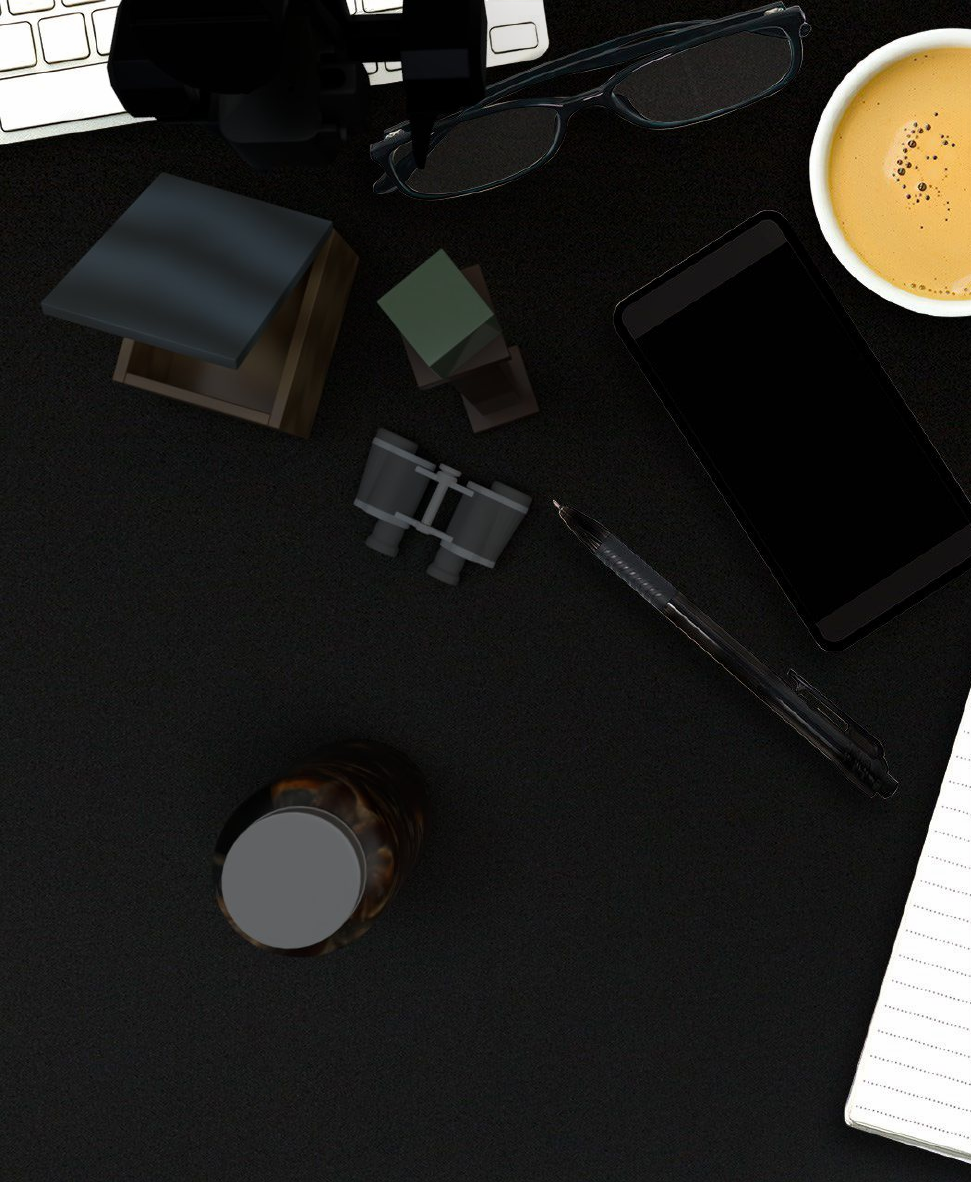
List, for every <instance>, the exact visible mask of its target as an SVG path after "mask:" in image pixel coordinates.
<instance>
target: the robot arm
mask: <svg viewBox="0 0 971 1182" xmlns="http://www.w3.org/2000/svg"><path fill="white" fill-rule="evenodd" d="M401 6H402V8H401V12H386V13H385V12H384V13H358V14H356V13H355V14H351V12H350V8H349V4H348V2H347V0H120V2H119V4H118V6H117V8H116V14H115V19H114V24H113V30H112V35H111V41H110V47H109V51H108V52H109V53H108V58H107V62H106V71H107V76H108V81H109V86H110V87H111V90H112V92H113V93H114V94H115V96H116V98H117V99H118V101H119V103H120V104H121V107H123V110H124V111H125V112H126V113H128V115H130V116H131V117H132V118H133V119H145V118H154V119H155V120H156V121H157V122H159V123H160V124H164V125H174V124H198V125H199V126H201V127H202V128H203V129H205V130H206V131H207V132H209V133H211V134H212V135H213V136H214V137H216V138H217V139H219V140H220V141H221V142H222V143H223V144H225V145H226V146H227V147H228V148H229V149H230V150H231V151H232V152H234V153H235V154H236V155H238V157H240V158H241V159H242V160H243V161H245V163H247V165H249V166H250V167H251V168H253V169H254V170H255V171H256V172H257V173H258V174H260V175H262V176H263V175H264V176H265V175H268V174H269V171H270V170H271V169H275V168H296V167H301V168H302V167H307V168H310V169H311V168H312V169H314V168H315V169H318V168H325V167H327V166H329V165H331V164H332V163H333V162H334V161H335V160H336V158H337V157H338V154H339V152H340V151H339V150H343V149H345V150H348V149H352V147H353V146H352V145H353V138H355V136H357V135H369V134H370V133H371V131H372V129H373V116H372V113H373V112H372V111H373V110H372V109H373V107H372V85H371V79H370V75H369V72H368V70H367V69H366V67H365V64H376V63H378V64H379V63H381V64H382V63H400V68H401V69H400V70H401V79H402V84H403V89H404V92H405V96H406V97H405V116H408V121H409V130H410V141H411V149H412V150H411V151H412V156H413V160H414V162H415V165H416V168H417V170H425V169H426V164H427V158H428V152H429V148H430V143H431V138H432V134H433V133H432V132H433V129H434V126H435V124H436V122H437V118H438V117H439V115H454V114H457V113H458V112H460V110H461V109H462V108H463V107H464V108H465V107H475V106H477V105H478V104H480V103H482V101H483V100H485V98H486V97H487V66H488V65H487V62H488V15H487V7H486V2H485V0H402V5H401Z"/></svg>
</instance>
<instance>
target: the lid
mask: <svg viewBox="0 0 971 1182" xmlns="http://www.w3.org/2000/svg"><path fill="white" fill-rule="evenodd" d="M333 229H334V225H333V221H331V220H328V219H324V218H322V217H318V216H314V215H311V214H307V213H304V212H301V211H297V210H294V209H290V208H287V207H284V206H280V205H277V204H273V203H270V202H266V201H263V200H259V199H256V198H253V197H251V196H246V195H243V194H239V193H235V192H232V191H229V190H225V189H222V188H220V187H219V188H218V187H215V186H211V185H208V184H204V183H201V182H197V181H194V180H191V179H188V178H184V177H180V176H178V175H174V174H170V173H167V172H164V171H163V172H162V171H161V172H160V173H159V175H158V176H157V177H156V178H155V179H154V180H153V181H152V182H151V183H150V185H149V186H147V188H146V189H145V190H143V192H142V193H141V194H140V195H139V196H138V197H137V198H136V199H135V201H133V203H131V205H130V206H129V207H128V208H127V209H126V210H125V211H124V212H123V214H122V215H121V216H120V217H119V218H118V219H117V220H116V221H115V222H114V223H113V224H112V225H111V226H110V227H109V229H108V230H106V231H105V233H104V234H103V235H102V236H101V237H100V238H99V239H98V240H97V241H96V243H95V244H93V246H92V247H91V248H90V249H89V250H88V251H87V252H86V253H85V254H84V256H83V257H82V258H81V259H80V260H79V261H78V262H77V263H76V264H75V265H74V266H73V267H72V268H71V269H70V270H69V272H68V273H67V274H66V275H65V276H64V277H63V278H62V279H61V280H60V281H59V283H58V284H56V285H55V287H54V288H52V290H51V291H50V292H49V293H48V294H47V295H46V296H45V297H44V298H43V300H41V302H40V307H41V309H42V312H43V314H44V315H45V316H49V317H53V318H57V319H60V320H62V321H63V320H64V321H66V322H71V323H73V324H77V325H79V326H84V327H87V328H90V329H93V330H96V331H101V332H105V333H107V334H111V335H114V336H118V337H121V338H124V337H125V338H128V339H131V340H135V341H138V342H142V343H145V344H148V345H152V346H155V347H159V348H162V349H165V350H169V351H172V352H176V353H179V354H182V355H186V356H189V357H193V358H196V359H200V360H203V361H206V362H210V363H213V364H217V365H220V366H223V367H227V368H230V369H234V370H238V368H239V367H240V365H241V364H242V363H243V361H244V360H245V358H246V357H247V355H248V354H249V352H250V351H251V350H252V348H253V347H254V345H255V344H256V342H257V341H258V339H259V338H260V337H261V335H262V334H263V332H264V331H265V329H266V328H267V326H268V325H269V324H270V322H271V321H272V319H273V318H274V316H275V315H276V313H277V312H278V311H279V309H280V308H281V306H282V305H283V303H284V302H285V300H286V299H287V298H288V296H289V295H290V293H291V292H292V290H293V289H294V287H295V286H296V284H297V283H298V282H299V280H300V279H301V277H302V276H303V274H304V273H305V271H306V270H307V269H308V267H309V266H310V264H311V263H312V261H313V260H314V258H315V257H316V256H317V254H318V253H319V251H320V250H321V248H322V247H323V245H324V244H325V243H326V241H327V240H328V238H329V237H330V235H331V234H332V232H333Z"/></svg>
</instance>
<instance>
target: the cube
mask: <svg viewBox="0 0 971 1182" xmlns="http://www.w3.org/2000/svg"><path fill="white" fill-rule="evenodd" d="M460 270H461V269H459V268H458V266H457V265H456V264H455V263H454V261H453V260H452V259H451V258H450V256H449V255H448V254H447V252H446V251H445V250H444V249H443V248H440V249H438V250H437V251H436V252H435V253H434V254H433V255H431V256H430V257H429V258H428V259H427V260H425V261H424V262H423V263H422V264H420V265H419V266H418V267H417V268H415V269H414V270H413V271H412V272H410V273H409V274H408V275H407V276H406V277H404V278H403V279H402V280H401V281H400V282H399V283H397V284H396V285H394V287H392V288H391V289H390V290H389V291H387V292H386V293H385V294H384V295H382V297H380V298H379V299H378V300H376V303H377V304H378V305H379V307H380V308H381V309H382V311H383V312H384V313H385V315H386V316H388V318H389V320H390V321H391V322H392V323H393V324H394V326H395V327H396V328H397V329H398V331H399V330H400V332H401V333H402V334H403V335H404V337H405V338H406V339H407V340H408V342H409V343H410V344H411V345H412V347H413V348H414V349H415V350H416V352H417V353H418V354H419V355H420V357H421V358H422V359H423V360H424V362H425V363H426V364H427V365H428V367H429V368H430V369H431V370H432V371H433V372H434V373H435V374H436V375H437V376H438V377H439V378H440V379H441V380H444V379H446V378H447V377H448V376H449V375H450V374H452V373H453V372H454V371H455V370H457V369H458V368H459V367H460V366H461V365H463V364H464V363H465V362H466V361H468V360H469V359H470V358H471V357H473V356H474V355H475V354H476V353H477V352H479V351H480V350H481V349H482V348H484V347H485V346H486V345H487V344H489V343H490V342H491V341H492V340H493V339H495V338H496V337H497V336H498V335H500V334H501V333H502V332H503V333H504V330H503V328H502V325H501V323H500V324H499V323H498V321H497V319H496V317H495V315H494V313H493V312H492V310H491V309H490V308H489V307H488V305H487V304H486V303H485V302H484V300H483V299H482V298H481V297H480V295H479V294H478V293H477V292H476V290H475V289H474V288H473V287H472V285H471V284H470V283H469V282H468V280H467V279H466V278H465V277H464V275H463V274H462V273H461V272H460ZM500 325H501V326H500ZM400 332H399V333H400Z"/></svg>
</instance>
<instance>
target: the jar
mask: <svg viewBox="0 0 971 1182" xmlns="http://www.w3.org/2000/svg"><path fill="white" fill-rule="evenodd" d="M432 802H433V801H432V797H431V793H430V790H429V788H428V785H427V783H426V781H425V779H424V777H423V775H422V774H421V772H420V770H419V769H418V768H417V767H416V766H415V764H414V763H413V762H412V761H410V759H408V758H407V756H405V755H403V753H401V752H399V751H398V750H396V749H394V748H393V747H391V746H389V745H387V744H384V743H380V742H377V741H373V740H368V739H344V740H339V741H335V742H334V741H333V742H331V743H328V744H325V745H323V746H320V747H319V748H317V749H315V750H313V751H311V752H309V753H308V754H306V755H305V756H303V757H301V758H299V759H298V760H296V761H295V762H294V763H292V764H290V765H289V766H287V767H286V768H285V769H283V770H282V771H280V772H279V773H277V774H275V775H274V776H273V777H271V778H270V779H268V780H267V781H266V782H264V783H263V784H262V785H260V786H259V787H257V788H256V789H255V790H254V791H252V792H251V793H250V794H249V795H248V796H246V797H245V798H244V799H243V800H242V801H241V802H240V803H239V805H237V807H236V808H235V809H234V811H233V812H232V813H231V815H230V816H229V817H228V818H227V820H226V821H225V823H224V825H223V827H222V828H221V830H220V833H219V834H218V837H217V841H216V843H215V846H214V849H213V855H212V863H211V879H212V885H213V886H212V887H213V891H214V894H215V898H216V901H217V904H218V906H219V909H220V910H221V912H222V915H223V916H224V918H225V919H226V921H227V922H228V924H230V926H231V927H232V928H233V929H234V930H235V932H237V933H238V935H240V936H241V938H243V939H244V940H246V941H247V942H249V943H250V944H251V945H254V947H257V948H259V949H260V950H263V951H264V952H268V953H271V954H274V955H277V956H282V957H287V958H301V959H302V958H314V957H319V956H324V955H327V954H332V953H334V952H337V951H339V950H341V949H343V948H345V947H347V946H349V945H350V944H353V942H355V941H356V940H358V939H360V937H362V936H363V935H365V934H366V933H367V932H368V931H369V930H370V929H371V928H372V927H373V926H374V925H375V924H376V923H377V922H378V921H379V919H381V917H382V916H383V915H384V913H385V912H386V911H387V910H388V908H389V907H390V905H391V904H392V902H393V901H394V899H395V898H396V897H397V896H398V894H399V892H400V891H401V890H402V888H403V886H404V885H405V883H406V882H407V880H408V879H409V877H410V875H412V872H413V871H414V869H415V868H416V866H417V864H418V863H419V861H420V860H421V858H422V856H423V854H424V853H425V850H426V848H427V845H428V843H429V841H430V836H431V832H432V828H433V819H434V817H433V815H434V811H433V803H432Z"/></svg>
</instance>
